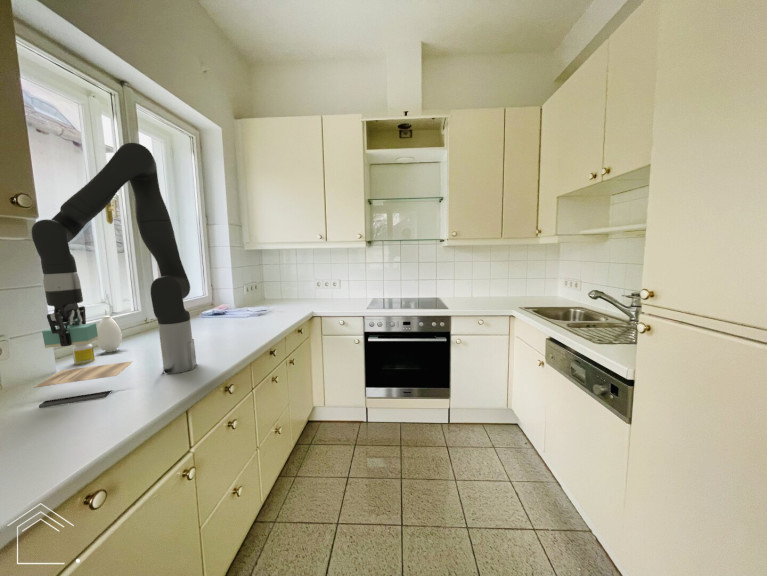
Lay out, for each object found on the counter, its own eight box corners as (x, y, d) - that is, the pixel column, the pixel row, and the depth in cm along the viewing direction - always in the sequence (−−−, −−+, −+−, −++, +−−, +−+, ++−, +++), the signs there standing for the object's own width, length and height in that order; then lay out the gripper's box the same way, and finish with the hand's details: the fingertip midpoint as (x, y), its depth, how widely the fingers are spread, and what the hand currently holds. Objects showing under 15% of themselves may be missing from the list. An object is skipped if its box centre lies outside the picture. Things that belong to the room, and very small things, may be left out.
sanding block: (98, 338, 97) (95, 323, 96) (88, 343, 91) (86, 327, 91) (57, 342, 93) (54, 326, 92) (45, 347, 88) (42, 331, 87)
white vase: (108, 349, 131) (102, 308, 129) (128, 348, 132) (122, 307, 130) (93, 355, 123) (87, 312, 121) (114, 354, 124) (108, 311, 122)
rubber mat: (119, 383, 96) (119, 381, 95) (105, 397, 86) (104, 394, 86) (61, 392, 90) (60, 389, 90) (39, 408, 81) (38, 405, 81)
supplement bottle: (98, 363, 114) (94, 338, 112) (79, 369, 109) (75, 342, 107) (91, 361, 116) (87, 337, 115) (72, 367, 111) (68, 341, 110)
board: (133, 365, 111) (133, 361, 111) (117, 379, 98) (116, 375, 98) (61, 374, 104) (61, 370, 104) (34, 392, 91) (33, 387, 91)
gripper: (64, 290, 85) (74, 348, 87) (92, 285, 98) (100, 335, 100) (28, 292, 82) (40, 352, 84) (62, 286, 95) (71, 338, 98)
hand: (72, 342), depth 92 cm, fingers closed on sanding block, 5 cm apart
